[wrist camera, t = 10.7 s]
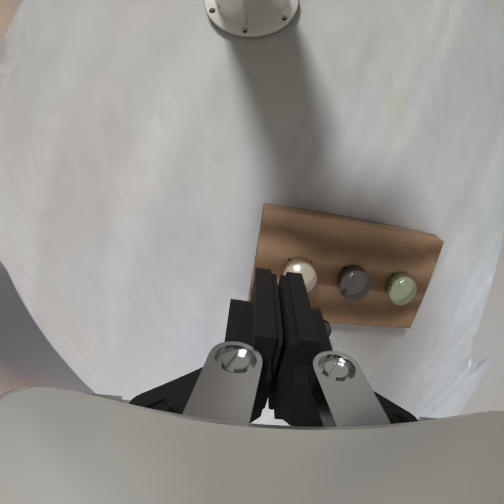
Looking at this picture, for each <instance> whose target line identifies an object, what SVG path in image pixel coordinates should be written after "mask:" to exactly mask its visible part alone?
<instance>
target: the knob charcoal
mask: <svg viewBox="0 0 504 504" xmlns="http://www.w3.org/2000/svg"><path fill="white" fill-rule="evenodd" d="M337 284H338V286H339V289H340V291H341V293H342V295H343V296H344V297H345V298H346V299H348V300H352V301H354V300H359V299H361V298H363V297H364V296H366V295H367V293H368V292H369V290H370V287H371V281H370V278H369V277H368V275H367V274H366V272H365V271H364V269H363V268H362V267H360V266H358V265H349V266H343V269H342V270H341V271H340V272H339V274H338V276H337Z"/></svg>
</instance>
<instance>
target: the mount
mask: <svg viewBox="0 0 504 504" xmlns="http://www.w3.org/2000/svg"><path fill="white" fill-rule="evenodd" d="M443 242H444V241H442V240H441V239H440V238H438V237H437V236H436V235H433V234H429V233H424V232H420V231H415V230H410V229H405V228H401V227H396V226H391V225H386V224H381V223H376V222H371V221H365V220H360V219H355V218H349V217H344V216H338V215H333V214H327V213H321V212H315V211H309V210H303V209H297V208H291V207H285V206H278V205H272V204H265V203H264V207H263V214H262V220H261V226H260V232H259V238H258V244H257V250H256V256H255V263H254V269H253V275H252V281H251V287H250V293H249V299H248V301H249V302H250V299H251V293H252V287H253V281H254V275H255V270H256V267H257V268H264V269H271V273H272V274H276V275H277V283H279V278H280V275H283V273H282V271H283V267H284V265H285V263H286V262H287V261H288V258H291V259H292V258H295V257H304V258H306V259H308V260H309V261H310V262H311V263H312V265H313V267H314V270H315V273H316V276H317V281H316V284H315V286H314V288H313V289H312V290H310V291H309V292H307V294H308V298H309V301H310V305H311V308H313V307H318V308H320V310H321V312H322V316H323V319H324V320H326V321H328V322H333V323H345V324H357V325H370V326H385V327H402V328H410V327H411V325H412V322H413V320H414V318H415V316H416V313H417V311H418V309H419V306H420V304H421V302H422V299H423V297H424V294H425V292H426V289H427V287H428V284H429V282H430V279H431V276H432V274H433V271H434V268H435V266H436V263H437V260H438V257H439V254H440V251H441V248H442V245H443ZM349 265H358V266H360V267H362V268H363V269H364V271H365V272H366V274H367V275H368V277H369V278H370V281H371V287H370V290H369V292H368V293H367V295H366V296H364V297H363V298H361V299H359V300H354V301H352V300H348V299H346V298H345V297H344V296H343V295H342V293H341V291H340V289H339V286H338V284H337V276H338V274H339V272H340V271H341V270H342V269H343V266H349ZM399 271H402V272H406V273H407V274H408V275H409V276H410V277H411V278H412V280H413V281H414V282H415V283H416V286H417V291H416V294H415V296H414V298H413V299H412V300H411V301H410V302H409V303H407V304H404V305H396V304H395V303H393V301H392V300H391V299H390V297H389V296H388V294H387V293H386V290H385V284H386V281H387V280H388V278H389V277H390V276H391V273H396V272H399Z"/></svg>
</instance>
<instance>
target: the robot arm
mask: <svg viewBox="0 0 504 504" xmlns="http://www.w3.org/2000/svg"><path fill="white" fill-rule="evenodd" d="M298 2H299V0H204V6H205V10H206V12H207V14H208V16H209V18H210V20H211V21H212V22H213V23H214V24H215V25H216V26H217V27H219V28H220V29H221V30H223V31H225V32H227V33H229V34H232V35H235V36H240V37H262V36H266V35H270V34H273V33H275V32H277V31H279V30H281V29H282V28H284V27H285V26H286V25H287V24H288V23H289V22H290V21H291V20H292V19H293V17H294V15H295V13H296V11H297V8H298ZM213 11H214V13H211V12H213ZM282 19H285V20H286V21H283V20H282ZM244 31H247V33H243V32H244ZM267 398H268V405H269V409H274V417H275V419H283V420H284V421H286V422H287V423H288V424H289V425H288V426H279V425H264V424H251V422H253V421H254V420H256V419H257V418H259V417H260V416H261V413H262V409H264V408H265V405H266V402H267ZM0 504H504V411H489V412H488V411H487V412H478V413H473V414H466V415H458V416H452V417H446V418H427V417H419V419H418V420H417V419H416V417H415V416H413V415H412V414H411V413H409V412H408V411H406V410H404V409H403V408H401V407H399V406H397V405H396V404H394V403H392V402H391V401H389V400H387V399H386V398H384V397H383V396H381V395H379V394H378V393H376V392H374V391H373V390H372V388H371V386H370V384H369V382H368V381H367V379H366V377H365V375H364V373H363V372H362V370H361V368H360V366H359V365H358V363H357V362H356V361H355V360H354V359H353V358H351V357H350V356H348V355H346V354H344V353H341V352H337V351H332V347H331V344H330V340H329V337H328V334H327V330H326V327H325V324H324V320H323V317H322V314H321V311H320V310H316V309H311V305H310V301H309V298H308V294H307V290H306V287H305V283H304V279H303V276H302V274H301V273H294V272H286V275H280V278H279V283H277V275H276V274H272V273H271V269H264V268H257V267H256V270H255V275H254V281H253V287H252V293H251V299H250V302H249V301H242V300H234V299H231V302H230V309H229V316H228V323H227V329H226V336H225V342H223V343H220V344H218V345H216V346H215V347H213V348H212V350H211V351H210V353H209V355H208V357H207V359H206V362H205V364H204V366H203V367H202V368H200V369H198V370H196V371H193V372H191V373H189V374H187V375H184V376H182V377H180V378H178V379H175V380H173V381H171V382H168V383H166V384H164V385H161V386H159V387H157V388H154V389H152V390H149V391H147V392H144V393H142V394H140V395H138V396H136V397H134V398H133V399H132V400H123V399H122V396H112V395H100V394H90V393H80V392H75V391H71V390H64V389H55V388H41V387H26V388H18V389H12V390H9V391H7V392H5V393H3V394H1V395H0Z"/></svg>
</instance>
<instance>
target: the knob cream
mask: <svg viewBox="0 0 504 504" xmlns="http://www.w3.org/2000/svg"><path fill="white" fill-rule="evenodd" d="M286 272H294V273H301V274H302V276H303V279H304V283H305V287H306V290H307V292H309V291H310V290H312V289H313V288H314V286H315V284H316V281H317V276H316V273H315V270H314V267H313V265H312V263H311V262H310V261H309V260H308V259H306V258H304V257H295V258H292V259H291V258H290V259H289V261H287V262H286V263H285V265H284V267H283V271H282V273H283V275H286Z"/></svg>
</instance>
